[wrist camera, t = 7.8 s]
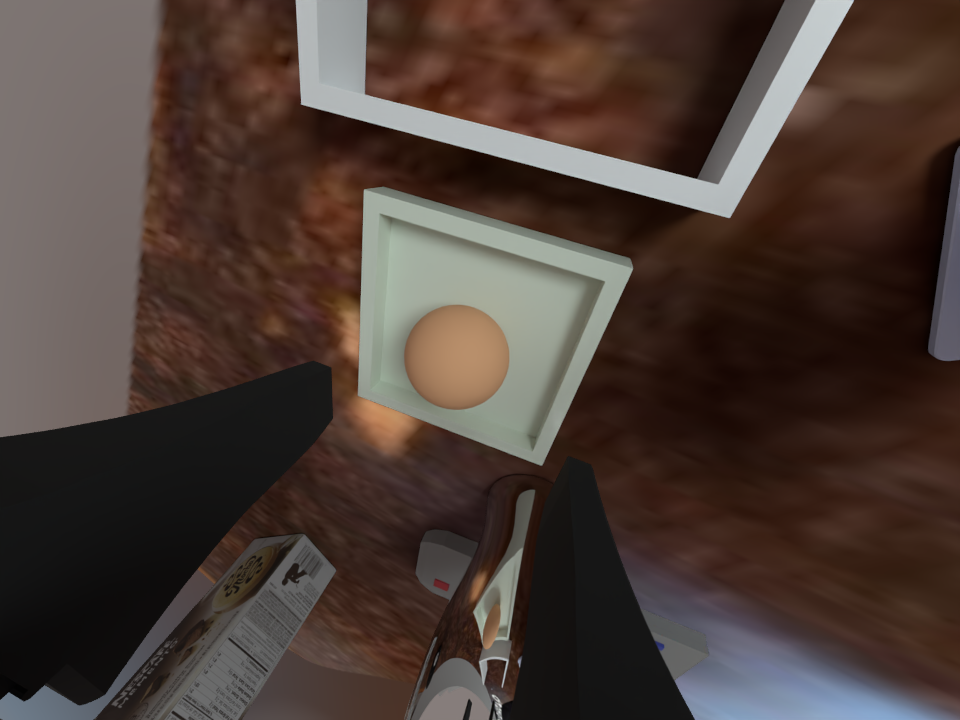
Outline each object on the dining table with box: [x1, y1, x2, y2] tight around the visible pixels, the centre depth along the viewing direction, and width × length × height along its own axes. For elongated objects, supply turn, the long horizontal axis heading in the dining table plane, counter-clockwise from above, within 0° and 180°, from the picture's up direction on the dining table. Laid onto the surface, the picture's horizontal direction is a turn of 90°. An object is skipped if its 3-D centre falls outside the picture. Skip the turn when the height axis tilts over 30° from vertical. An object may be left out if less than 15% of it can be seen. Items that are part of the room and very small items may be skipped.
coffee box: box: [94, 534, 336, 720], centre depth 33 cm, size 9×6×16 cm
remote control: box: [415, 529, 709, 680], centre depth 30 cm, size 8×23×2 cm, turn 79°
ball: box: [404, 305, 509, 410], centre depth 17 cm, size 5×5×5 cm
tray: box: [358, 187, 633, 466], centre depth 19 cm, size 12×12×2 cm
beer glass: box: [404, 475, 554, 720], centre depth 19 cm, size 7×7×15 cm
